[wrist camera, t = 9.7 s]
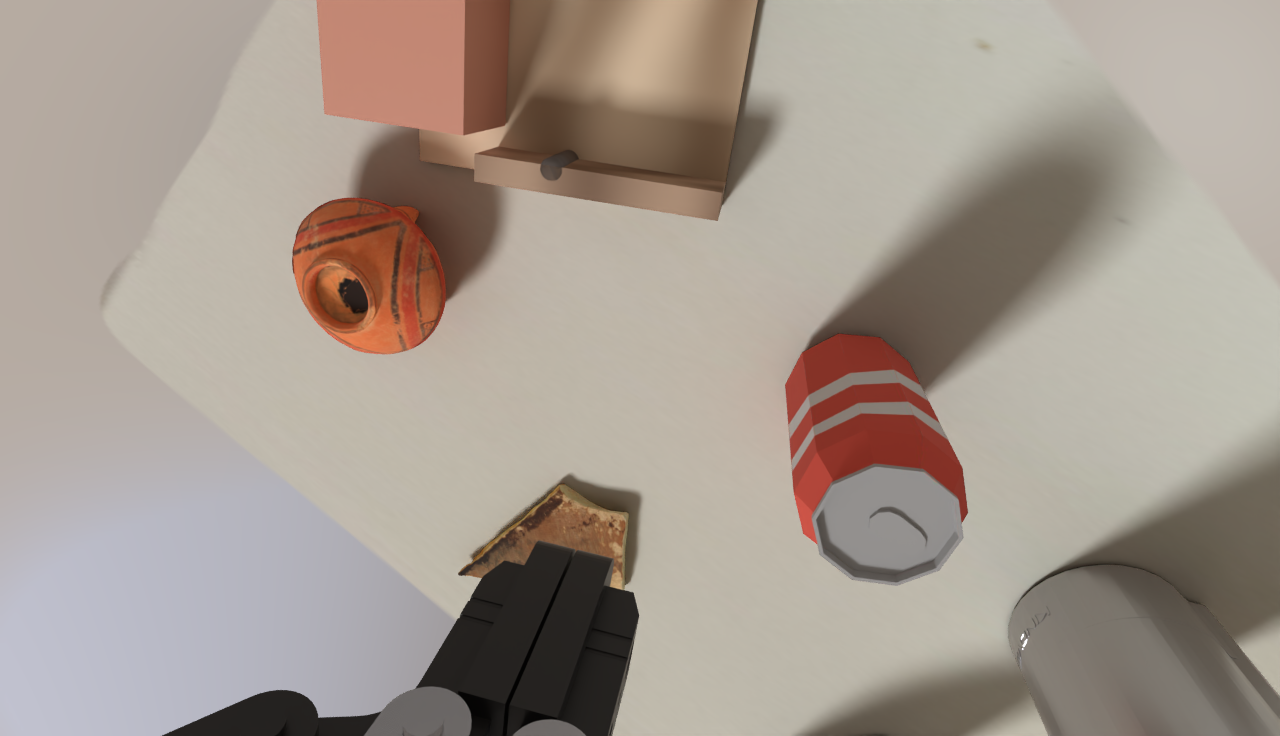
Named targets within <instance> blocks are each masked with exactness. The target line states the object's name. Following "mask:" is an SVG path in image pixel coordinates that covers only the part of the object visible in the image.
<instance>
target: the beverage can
mask: <svg viewBox="0 0 1280 736" xmlns="http://www.w3.org/2000/svg"><path fill="white" fill-rule="evenodd" d="M785 388H786V400H787V413H788V426H789V438H790V451H791V464H792V476H793V489H794V495H795V500H796V504H797V508H798V513H799V517H800V521H801V525H802V530H803V534H805V535H806V536H807V537H808V538H810V539H811V540H812V541H814V542H815V543H816V544H817V545H818V549H819V553H820V555H821V556H822V557H823V558H825V559H826V560H827V561H828V562H830V563H831V564H832V565H834V566H835V567H836V568H837V569H839V570H840V571H841V572H843V573H844V574H845V575H846V576H848V577H849V578H850V579H852V580H858V581H865V582H873V583H880V584H888V585H895V586H897V585H900V584H903V583H906V582H908V581H911V580H914V579H917V578H920V577H922V576H925V575H928V574H931V573H933V572H936V571H939V570H940V569H941V567H942V566H943V565H944V563H945V562H946V561H947V559H948V558H949V557H950V555H951V554H952V553H953V551H954V550H955V549H956V547H957V546H958V545H959V543H960V542H961V541H962V539H963V530H962V522H963V520H964V519H965V517H966V515H967V514H968V509H967V501H966V493H965V485H964V477H963V469H962V466H961V464H960V462H959V460H958V458H957V456H956V454H955V452H954V450H953V449H952V447H951V445H950V443H949V441H948V439H947V437H946V435H945V433H944V431H943V429H942V427H941V425H940V423H939V421H938V419H937V417H936V415H935V413H934V411H933V409H932V407H931V405H930V403H929V401H928V399H927V397H926V395H925V393H924V391H923V389H922V387H921V385H920V383H919V381H918V379H917V377H916V375H915V373H914V371H913V369H912V367H911V365H910V363H909V362H908V361H907V360H906V359H905V358H904V357H902V356H901V355H900V354H899V353H898V352H896V351H895V350H894V349H893V348H892V347H891V346H889V345H888V344H887V343H886V342H885V341H883V340H882V339H881V338H880V337H870V336H858V335H847V334H837V335H835V336H833V337H831V338H829V339H827V340H825V341H823V342H821V343H819V344H818V345H816V346H814V347H812V348H810V349H808V350H806V351H804V352H802V354H801V356H800V358H799V359H798V361H797V363H796V365H795V367H794V369H793V371H792V373H791V375H790V377H789V379H788V381H787V383H786V384H785Z"/></svg>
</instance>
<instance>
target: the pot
mask: <svg viewBox="0 0 1280 736" xmlns="http://www.w3.org/2000/svg"><path fill="white" fill-rule="evenodd" d="M418 215H419V211H418V210H417V209H415V208H413V207H409V206H398V207H393V208H392V207H390V206H388V205H385V204H383V203H380V202H377V201H373V200H368V199H362V198H342V199H337V200H332V201H329V202H327V203H325V204H323V205H321V206H319V207H318V208H317V209H315V210H314V211H313V212H311V213H310V214H309V215H308V216H307V217H306V218H305V219H304V220H303V221H302V223H301V225H300V227H299V229H298V231H297V234H296V240H295V244H294V247H293V256H292V265H293V273H294V274H295V279H296V283H297V287H298V290H299V293H300V296H301V298H302V301H303V303H304V304H305V306H306V308H307V309H308V311H309V313H310V314H311V316H312V317H313V318H314V320H315V321H316V322H317V323H318V324H319V325H320V326H321V327H322V328H323V329H324V330H325V331H326V332H327V333H328V334H329V335H331V336H332V337H333V338H334V339H336V340H337V341H339V342H341V343H342V344H344V345H346V346H348V347H350V348H352V349H354V350H357V351H361V352H365V353H374V354H394V353H399V352H403V351H406V350H409V349H412V348H414V347H416V346H418V345H420V344H421V343H423V342H424V341H425V340H426V339H427V338H428V337H429V336H430V335H431V334H432V333H433V331H434V330H435V328H436V327H437V325H438V323H439V321H440V319H441V317H442V314H443V311H444V307H445V299H446V285H445V277H444V272H443V268H442V265H441V262H440V259H439V256H438V254H437V252H436V250H435V248H434V246H433V245H432V243H431V242H430V241H429V240H428V238H427V237H426V235H425V234H424V233H423V232H422V230H421V229H420V228H419V227H418V226H417V225H416V224H415V221H416V219H417V218H418ZM293 263H294V264H293Z"/></svg>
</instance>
